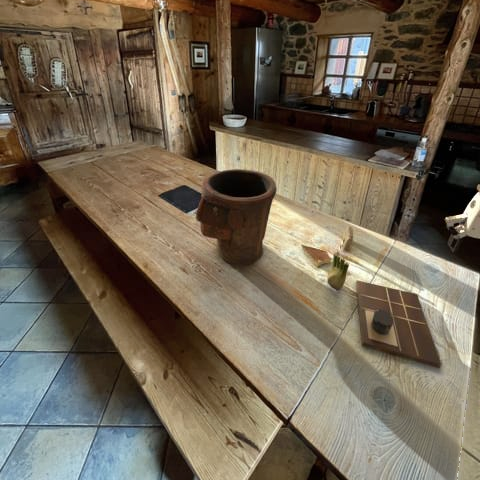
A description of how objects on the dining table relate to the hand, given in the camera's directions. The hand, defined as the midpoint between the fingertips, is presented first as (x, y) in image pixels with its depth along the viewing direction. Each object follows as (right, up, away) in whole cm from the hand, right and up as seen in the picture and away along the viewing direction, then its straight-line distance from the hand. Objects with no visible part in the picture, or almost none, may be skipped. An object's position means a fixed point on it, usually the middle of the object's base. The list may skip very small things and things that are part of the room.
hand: (474, 253), depth 66 cm
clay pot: (-60, -10, +37) cm, 72 cm away
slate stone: (-19, -23, +8) cm, 31 cm away
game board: (-14, -23, +12) cm, 29 cm away
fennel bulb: (-27, -18, +23) cm, 40 cm away
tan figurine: (-16, -9, +41) cm, 45 cm away
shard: (-30, -12, +35) cm, 47 cm away
